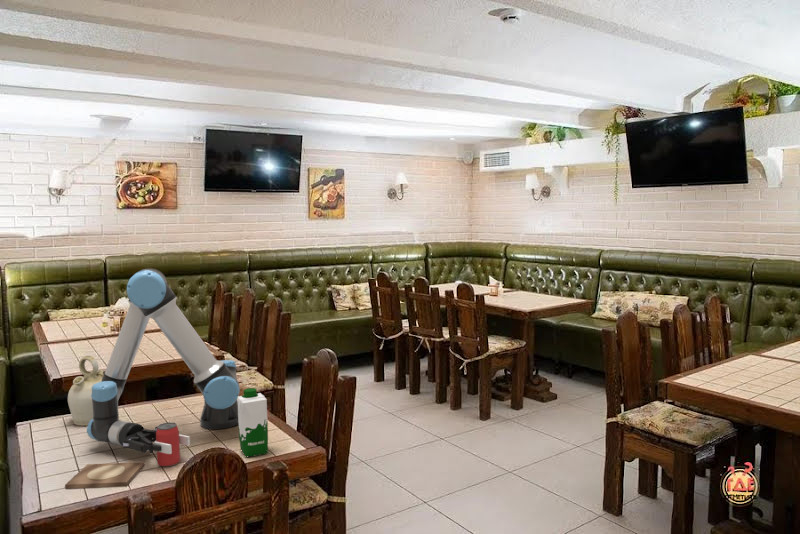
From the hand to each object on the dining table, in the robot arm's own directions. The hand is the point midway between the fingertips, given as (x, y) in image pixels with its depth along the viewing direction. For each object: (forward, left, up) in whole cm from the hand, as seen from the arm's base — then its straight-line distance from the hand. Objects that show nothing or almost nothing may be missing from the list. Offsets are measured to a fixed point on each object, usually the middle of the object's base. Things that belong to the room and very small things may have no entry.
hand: (179, 445), depth 183 cm
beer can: (+4, -3, -7) cm, 8 cm away
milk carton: (-21, -9, -7) cm, 23 cm away
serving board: (+20, +5, -7) cm, 22 cm away
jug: (+46, -47, -7) cm, 66 cm away
